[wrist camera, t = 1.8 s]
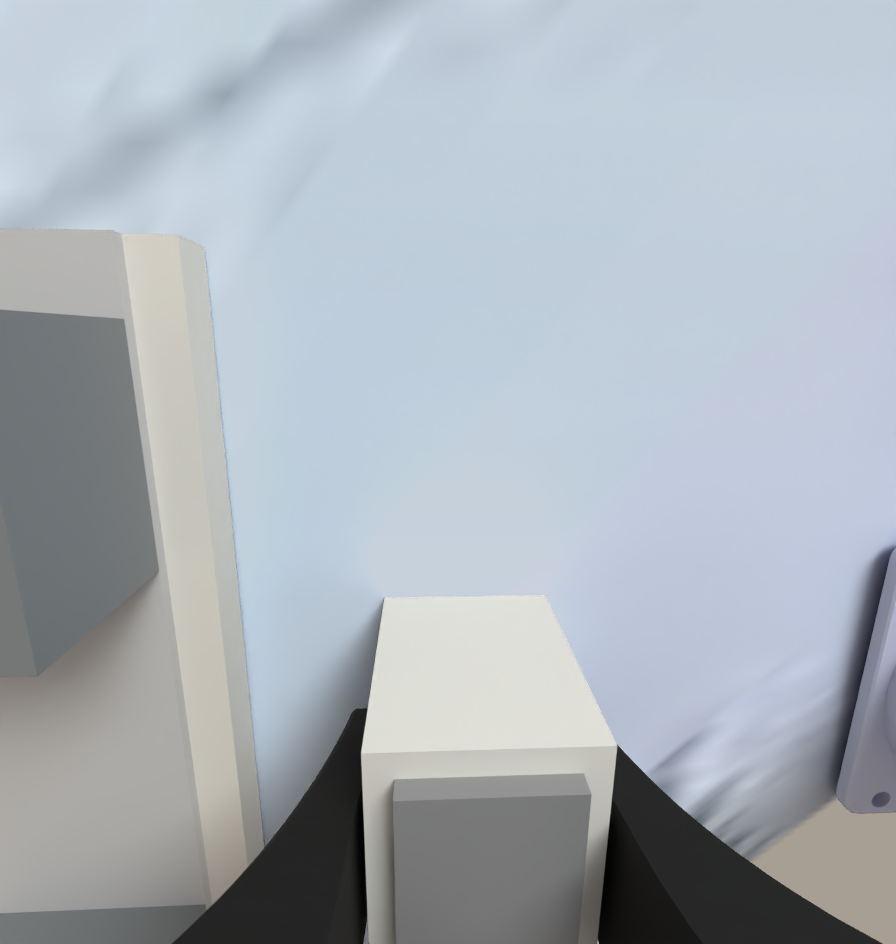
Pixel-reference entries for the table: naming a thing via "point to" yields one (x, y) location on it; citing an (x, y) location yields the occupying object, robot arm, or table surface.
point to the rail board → (116, 596)
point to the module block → (483, 777)
